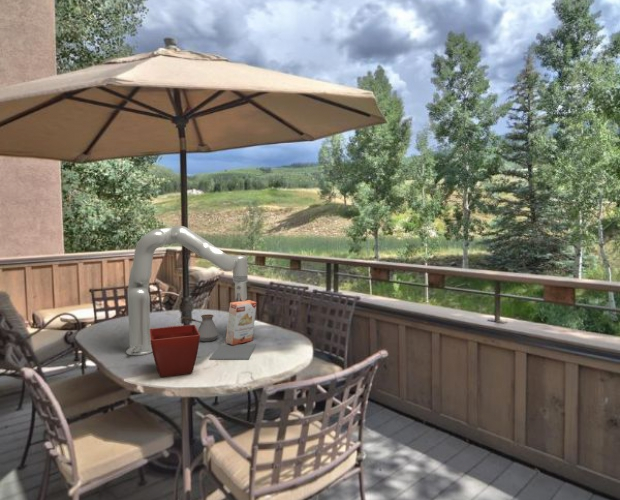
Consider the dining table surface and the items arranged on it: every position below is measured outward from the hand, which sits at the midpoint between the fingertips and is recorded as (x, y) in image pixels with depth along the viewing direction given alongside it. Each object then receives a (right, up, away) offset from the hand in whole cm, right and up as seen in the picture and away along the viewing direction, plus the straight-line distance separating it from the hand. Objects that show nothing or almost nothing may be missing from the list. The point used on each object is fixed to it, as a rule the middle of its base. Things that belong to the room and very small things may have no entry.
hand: (240, 313), depth 230 cm
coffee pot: (-21, -15, -2) cm, 26 cm away
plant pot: (-21, -18, -44) cm, 52 cm away
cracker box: (0, -14, -4) cm, 15 cm away
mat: (0, -16, -19) cm, 25 cm away
